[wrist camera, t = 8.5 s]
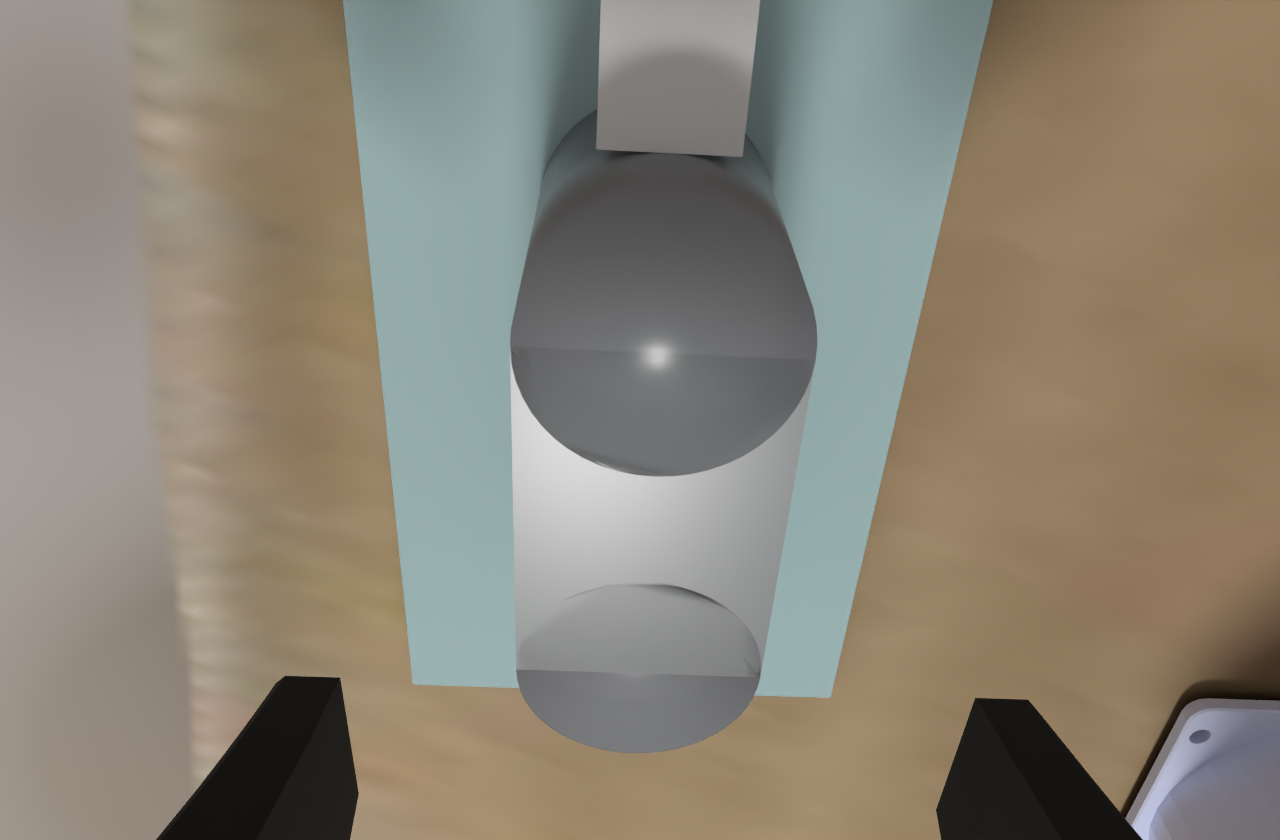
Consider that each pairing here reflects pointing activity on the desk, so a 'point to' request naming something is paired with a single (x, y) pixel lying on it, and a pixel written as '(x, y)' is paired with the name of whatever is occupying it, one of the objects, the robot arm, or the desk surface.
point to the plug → (655, 392)
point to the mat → (497, 248)
